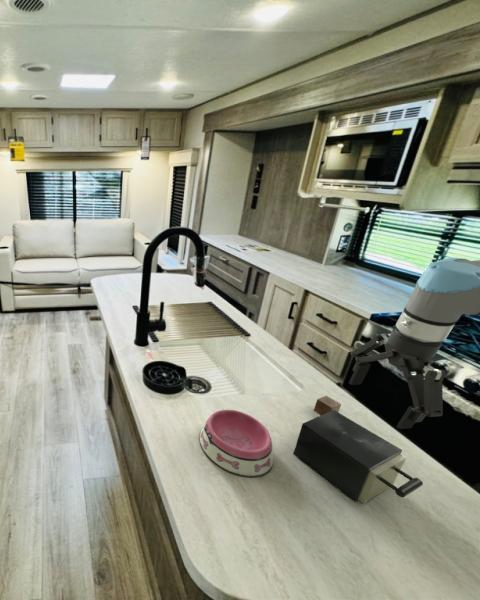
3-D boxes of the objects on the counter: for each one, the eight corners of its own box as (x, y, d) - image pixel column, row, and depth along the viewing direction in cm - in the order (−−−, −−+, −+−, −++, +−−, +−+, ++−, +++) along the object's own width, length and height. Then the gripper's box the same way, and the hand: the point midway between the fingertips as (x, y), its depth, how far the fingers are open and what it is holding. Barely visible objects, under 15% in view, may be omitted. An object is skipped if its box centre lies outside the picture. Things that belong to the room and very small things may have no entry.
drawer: (417, 501, 70) (432, 473, 67) (387, 521, 66) (402, 492, 63) (331, 443, 86) (340, 418, 82) (303, 457, 82) (312, 431, 78)
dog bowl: (287, 480, 77) (293, 459, 74) (209, 474, 78) (213, 454, 76) (255, 425, 94) (259, 406, 91) (192, 421, 96) (194, 403, 93)
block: (337, 415, 97) (341, 404, 95) (328, 419, 95) (332, 407, 94) (322, 406, 101) (326, 395, 99) (313, 410, 99) (317, 399, 98)
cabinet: (386, 482, 76) (402, 449, 72) (354, 502, 71) (369, 468, 67) (323, 439, 88) (333, 409, 84) (293, 454, 84) (302, 423, 80)
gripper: (353, 304, 76) (325, 369, 87) (467, 376, 55) (411, 451, 65) (383, 302, 76) (351, 367, 87) (509, 373, 55) (447, 448, 65)
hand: (377, 403), depth 76 cm, fingers open, 13 cm apart
